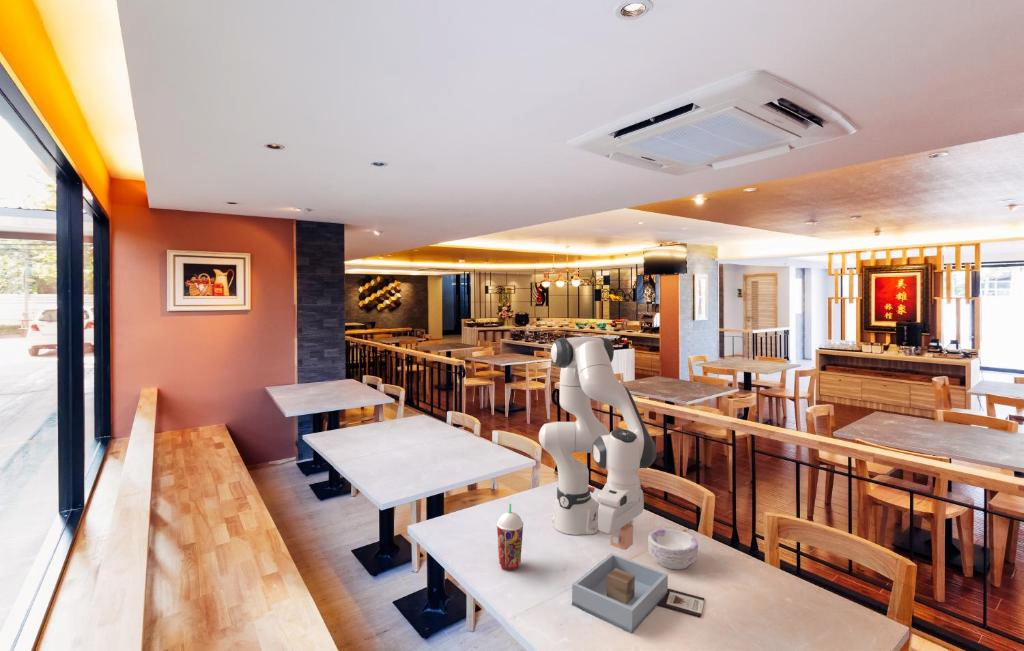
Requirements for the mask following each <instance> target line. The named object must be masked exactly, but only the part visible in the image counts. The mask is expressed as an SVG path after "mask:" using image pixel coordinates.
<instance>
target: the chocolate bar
mask: <svg viewBox="0 0 1024 651" xmlns="http://www.w3.org/2000/svg"><path fill="white" fill-rule="evenodd" d="M704 602H705V598H704V597H702V596H698V595H694V594H690V593H687V592H682V591H679V590H675V589H672V588H668V587H667V594H666V595H665V596H664V597H663V598H662V599H661V600H660V602H659V603H658V604H657V607H660V608H663V609H667V610H671V611H673V612H674V611H675V612H678V613H681V614H684V615H687V616H692V617H695V618H700V619H702V612H703V608H704V607H703V606H704Z"/></svg>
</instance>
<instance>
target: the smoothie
mask: <svg viewBox="0 0 1024 651" xmlns="http://www.w3.org/2000/svg"><path fill="white" fill-rule="evenodd" d="M508 505H509V506H508V511H506V512H504V513H503V514H501V515H500V517H499V519H498V520H497V522H496V529H497V530H496V534H497V552H498V563H499V565H500V567H501V569H503V570H504V571H505V570H506V571H514V570H517V569H518V568H519V566H520V564H521V560H522V558H521V557H522V547H523V546H522V545H523V536H524V535H523V534H524V533H523V532H524V531H523V530H524V522H523V521H522V518H521V517H520V515H519V514H518V513H516V512H514V511H512V503H509V504H508Z"/></svg>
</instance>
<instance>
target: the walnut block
mask: <svg viewBox="0 0 1024 651" xmlns="http://www.w3.org/2000/svg"><path fill="white" fill-rule="evenodd" d="M634 591H635V576H634V575H632V574H629V573H627V572H624V571H622V570H619V569H617V568H615V569H614V570H613V571H612V572H610V573H609V574H608V575H607V596H608V597H610V598H612V599H615V600H617V601H619V602H621V603H624V604H627V603H628V602H629V601H630V600H631V599H632V598H633V597H634Z"/></svg>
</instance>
